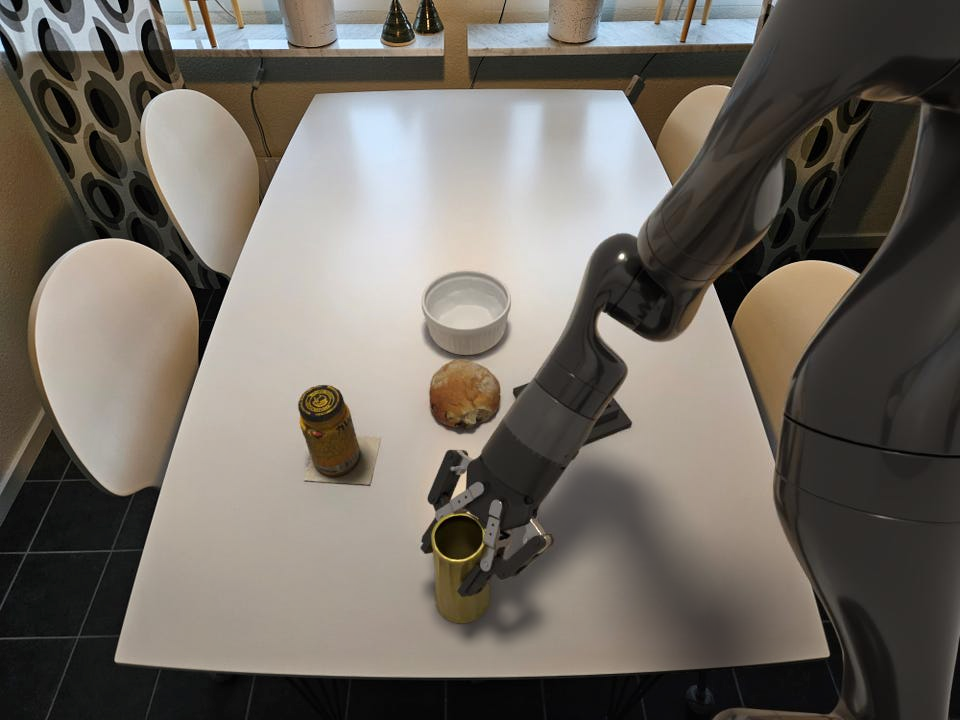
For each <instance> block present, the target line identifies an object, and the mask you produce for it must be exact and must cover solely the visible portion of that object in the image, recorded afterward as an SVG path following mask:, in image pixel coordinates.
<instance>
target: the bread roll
mask: <svg viewBox="0 0 960 720" xmlns="http://www.w3.org/2000/svg"><path fill="white" fill-rule="evenodd" d="M428 392H429V393H428V396H429V404H430V410H431V413H432V414H433V415H434V417H435V418H436V419H437V420H438V422H440V423H441V424H444V425H445V426H447V427H452V428H457V429H458V430H460V431H461V430H462V431H464V430H465V429H467V430H468V429H472V428H474V427H477V426H479V425H480V424H482V423H484V422H486V421H488V420H489V419H490V418H491V417H492V416H493V415H494V414H495V413H496V412H497V411H498V409H499V407H500V404H501V398H502V397H501V385H500V381H499V380H498V378H497V377H496V375H494V374H493V373H492V372H491V370H490V369H489V368H487V367H485V366H484V365H481V364H480V363H477V362H474V361H472V360H468V359H454V360H452V361H449V362H448V363H446V364H444V365H442V366H441V367H440V368H439V369H438V370H437V371H436V372H435V373H433V376H432V377H431V380H430V386H429V391H428Z"/></svg>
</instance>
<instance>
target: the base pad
mask: <svg viewBox="0 0 960 720" xmlns="http://www.w3.org/2000/svg"><path fill="white" fill-rule="evenodd" d="M530 382H531V381H530ZM530 382H529V381H528V382H527V383H525V384H522V385H518V386H515V387H513V388H512V394H513V395H514V397H515V399H516V398H517V397H518V395H519V394H520V393H521V392H522V391H523V389H524V388H525V387H526V386H527V385H528V384H529V383H530ZM614 397H615V396H614ZM614 397H613V398H612V400H611V401H610V403H609V404H608V405H607V407H606V408H605V410H604V411H603V413H602V414H601V415H600V417H599V418H598V419H597V421H596V423H595V424H594V426H593V428H592V430H591V432H590V434H589V436H588V438H587V439H586V441H585V442H584V444H583V445H582V447H583V446H585V445H588V444H591V443H593V442H595V441H596V442H597V441H598V440H601V439H603V438H605V437H606V438H607V437H608V436H611V435H613V434H616V433H618V432H619V433H620V432H622V431H625V430H626V429H629V428H631V427H632V426H633V421H632V420H631V418H630V417H629V416H628V415H627V414H626V412H625V411H624V409H623V408H622V406H621V405H620V404H619V403H618V401H617V400H616V399H615V398H614Z"/></svg>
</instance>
